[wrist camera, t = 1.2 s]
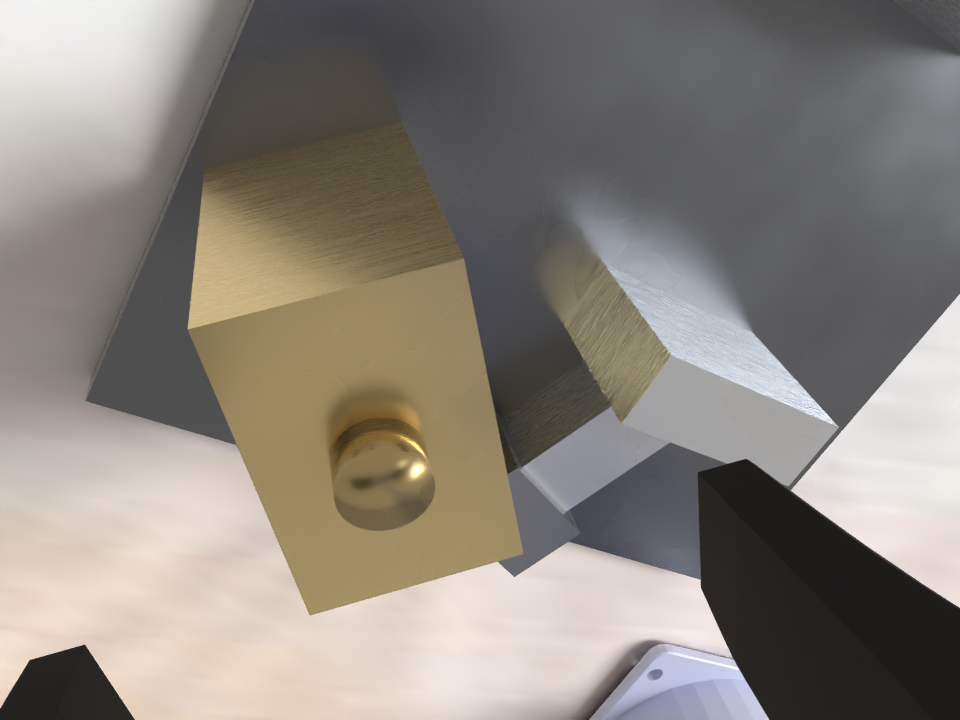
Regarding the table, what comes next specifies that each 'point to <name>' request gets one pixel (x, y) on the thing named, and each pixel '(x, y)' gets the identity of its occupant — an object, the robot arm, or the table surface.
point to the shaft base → (616, 226)
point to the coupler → (351, 366)
